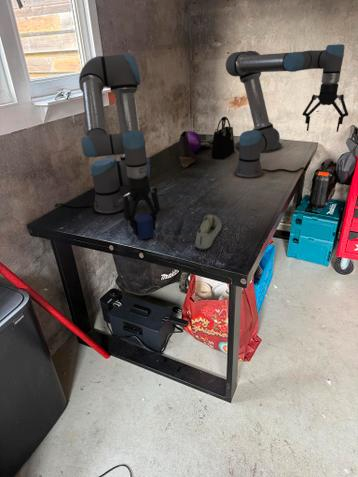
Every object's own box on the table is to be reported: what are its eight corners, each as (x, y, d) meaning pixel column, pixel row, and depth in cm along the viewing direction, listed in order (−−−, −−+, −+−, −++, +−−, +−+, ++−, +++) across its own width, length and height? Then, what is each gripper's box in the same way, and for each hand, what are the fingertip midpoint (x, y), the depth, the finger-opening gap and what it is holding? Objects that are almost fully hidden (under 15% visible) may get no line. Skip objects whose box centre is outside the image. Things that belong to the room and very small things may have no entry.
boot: (197, 157, 223) (197, 126, 213) (191, 168, 203) (190, 135, 193) (185, 157, 225) (183, 126, 215) (178, 168, 205) (176, 135, 195)
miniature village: (250, 138, 260) (251, 126, 256) (289, 145, 237) (291, 132, 233) (223, 147, 242) (223, 134, 237) (263, 155, 219) (264, 141, 215)
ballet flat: (225, 222, 139) (225, 205, 135) (213, 252, 119) (212, 233, 115) (205, 220, 141) (205, 203, 137) (190, 250, 121) (189, 231, 117)
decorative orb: (204, 151, 235) (204, 129, 228) (194, 156, 225) (193, 134, 217) (186, 149, 243) (186, 128, 235) (175, 154, 232) (174, 132, 224)
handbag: (222, 159, 215) (223, 120, 203) (210, 158, 220) (210, 119, 207) (235, 151, 230) (236, 114, 218) (223, 150, 234) (224, 113, 222)
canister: (147, 228, 136) (145, 212, 132) (157, 234, 131) (155, 217, 127) (132, 234, 132) (130, 217, 128) (142, 240, 127) (140, 223, 123)
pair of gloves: (199, 151, 237) (198, 143, 234) (184, 143, 257) (184, 136, 255) (235, 144, 246) (235, 137, 244) (218, 138, 267) (218, 131, 264)
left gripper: (116, 185, 112) (125, 243, 123) (166, 172, 121) (171, 227, 132) (108, 179, 118) (117, 235, 129) (156, 167, 127) (161, 220, 138)
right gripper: (300, 84, 152) (294, 131, 163) (360, 83, 144) (350, 133, 154) (301, 82, 158) (296, 128, 169) (359, 81, 149) (350, 129, 160)
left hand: (144, 231), depth 131 cm, fingers closed on canister, 7 cm apart
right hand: (322, 130), depth 162 cm, fingers open, 13 cm apart
